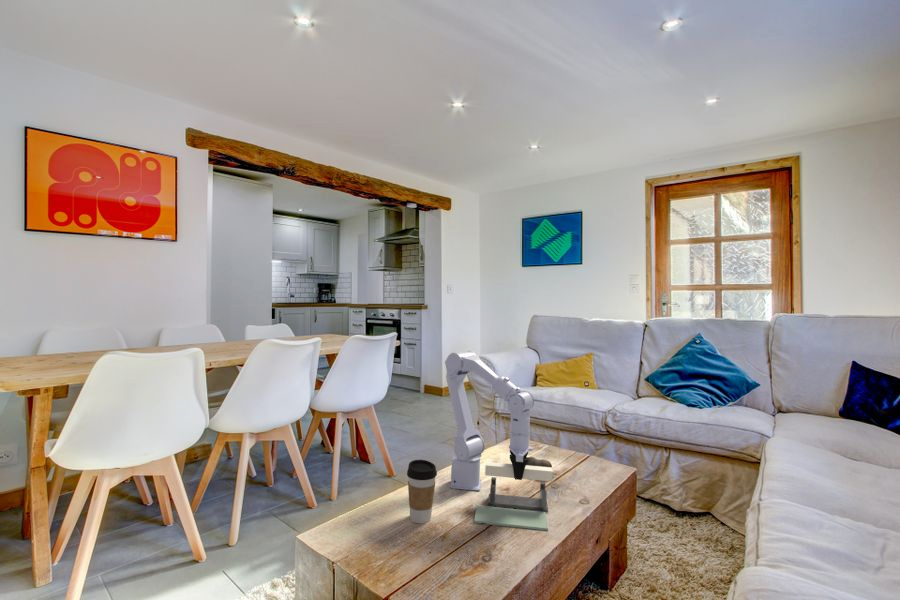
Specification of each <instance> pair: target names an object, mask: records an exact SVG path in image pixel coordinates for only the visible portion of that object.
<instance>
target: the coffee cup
mask: <svg viewBox="0 0 900 600" xmlns="http://www.w3.org/2000/svg"><path fill="white" fill-rule="evenodd" d="M437 471H438V470H437V467H436V465H435V464H434V463H433V462H431V461H429V460H426V459H414V460H411V461H410V462H409V463H408V467H407V471H406V475H407V477H408V480H407V488H408V489H407V490H408V492H407V493H408V501H409V502H408V504H409V505H408V506H409V520H410V521H411V522H412V523H415V522H416V524H426V523H429V522H430V521H431V520H430V519H432V513H433V505H434V497H435V489H436V477H437V476H438V472H437Z"/></svg>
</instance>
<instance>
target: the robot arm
mask: <svg viewBox="0 0 900 600" xmlns="http://www.w3.org/2000/svg"><path fill="white" fill-rule="evenodd" d="M444 365H445V369H446V374H445V375H446V376H445V378H446V383H447V389H448V392H449V397H450V402H451V407H452V409H453V410H452V411H453V414H454V419H455V423H456V424H455V425H456V428H457V432H456V434H455V435H454V437H453V442H454V444H453V452H454V455H455V456H453V457H452V459H451V470H450V471H451V472H450V489H457V490H467V491H478V492H479V491H481V485H482V479H480V474H481V473H480V472H481V457H482V454H483V453H484V451H485V449H486V443H485V441H484V439H483V437H482V436H481V432H480V431H481V430H479V429H477V428H476V427H475V426H474V421H473V419H472V413H471V410H470V405H469V404H470V403H469V401H468V397H467V396H468V395H467V392H466V388H465V384H464V380H465V379H466V377H467V375H468V374H469V373H470V372H472V373H475V374H476V375H477V376H479V377H480V378H481V379H483V380H484V381H486V382H487V383H488V384H490V385H491V389H492V391H493V392H494V393H495V394H496V395H497V396H498V397H500V398H501V400H503V401H504V402H505V403H506V404H507V407H508V410H509V412H510V413H509V415H510V427H509V428H510V429H509V432H510V434H509V445H508V448H509V453H510V454H509V460H510V462H511V463H510V464H512V466H513V471H514V478H513V479H514V480H515V481H523V479H522V478H523V473H524V469H525V466H526V464H527V462H528V460H529V457H530V456H528V455H529V452H533V451H534V447H533V446H530V425H531V424H530V423H531V422H530V421H531V409H532V408H533V407H534V404H535V399H534V397H533V395H532V394H531V393H530V391H528V390H523V389H521V387H517V386H516V384H514V383H513V382H511V380H510V378H509V377H507V376H503V375H502V376H498V375H497V374H496V373H495V372H494V371H493V370H492V369H491V368H490V367H489V366H487V364H485V362H484V361H483V360H481V358H480V355H478V354H476V353H475V352H474V351H472V350H466V351H461V352H451V353H450V354H449V355H448V356H447V358H446V360H445V361H444Z"/></svg>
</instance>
